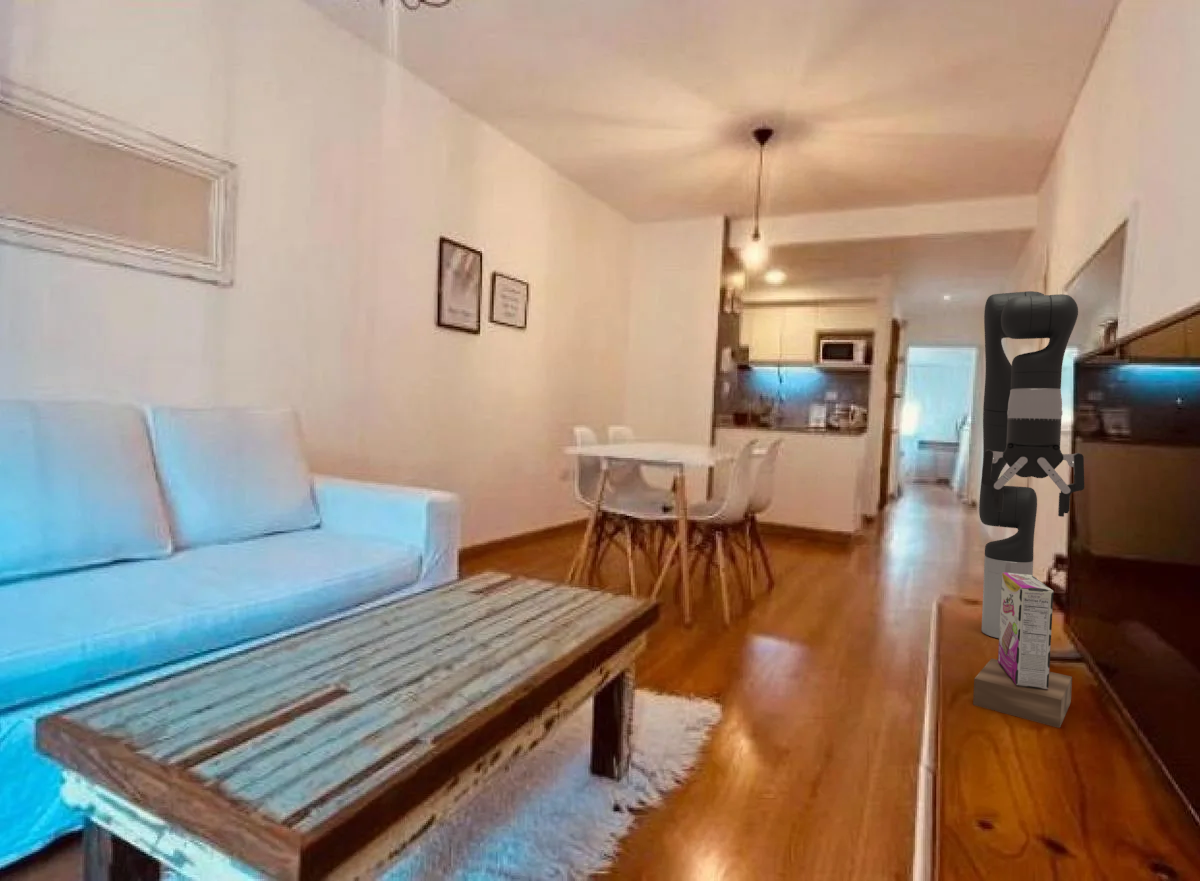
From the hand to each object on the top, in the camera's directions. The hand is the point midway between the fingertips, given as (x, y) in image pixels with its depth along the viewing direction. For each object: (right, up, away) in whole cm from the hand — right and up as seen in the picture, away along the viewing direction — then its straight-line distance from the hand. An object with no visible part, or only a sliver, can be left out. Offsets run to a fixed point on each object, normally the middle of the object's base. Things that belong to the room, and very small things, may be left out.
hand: (1029, 513), depth 111 cm
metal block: (-1, -33, +1) cm, 33 cm away
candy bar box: (-1, -28, +1) cm, 28 cm away
